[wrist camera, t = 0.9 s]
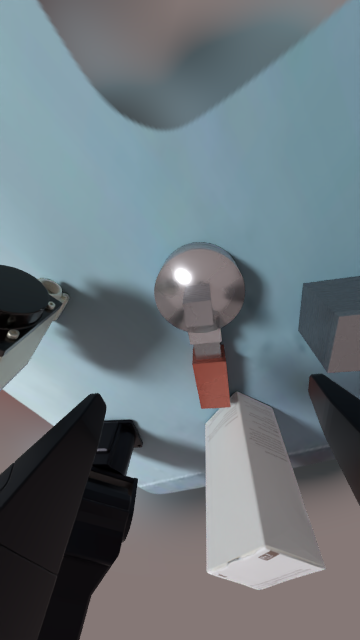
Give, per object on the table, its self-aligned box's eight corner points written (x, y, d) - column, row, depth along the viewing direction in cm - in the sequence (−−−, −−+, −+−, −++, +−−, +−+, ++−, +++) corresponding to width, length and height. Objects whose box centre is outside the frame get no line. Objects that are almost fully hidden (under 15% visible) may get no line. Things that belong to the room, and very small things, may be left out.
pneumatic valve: (95, 271, 21) (-5, 349, 11) (50, 343, 26) (-46, 441, 16) (41, 232, 20) (-134, 280, 9) (5, 316, 25) (-133, 405, 15)
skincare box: (237, 435, 33) (260, 592, 20) (202, 421, 32) (202, 577, 19) (274, 404, 29) (333, 577, 16) (235, 387, 28) (265, 556, 15)
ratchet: (245, 390, 28) (255, 435, 22) (186, 393, 29) (182, 437, 24) (237, 235, 18) (252, 252, 13) (151, 250, 20) (133, 271, 14)
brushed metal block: (354, 325, 22) (402, 367, 16) (298, 330, 23) (327, 372, 17) (366, 275, 19) (428, 307, 14) (303, 283, 20) (339, 316, 15)
